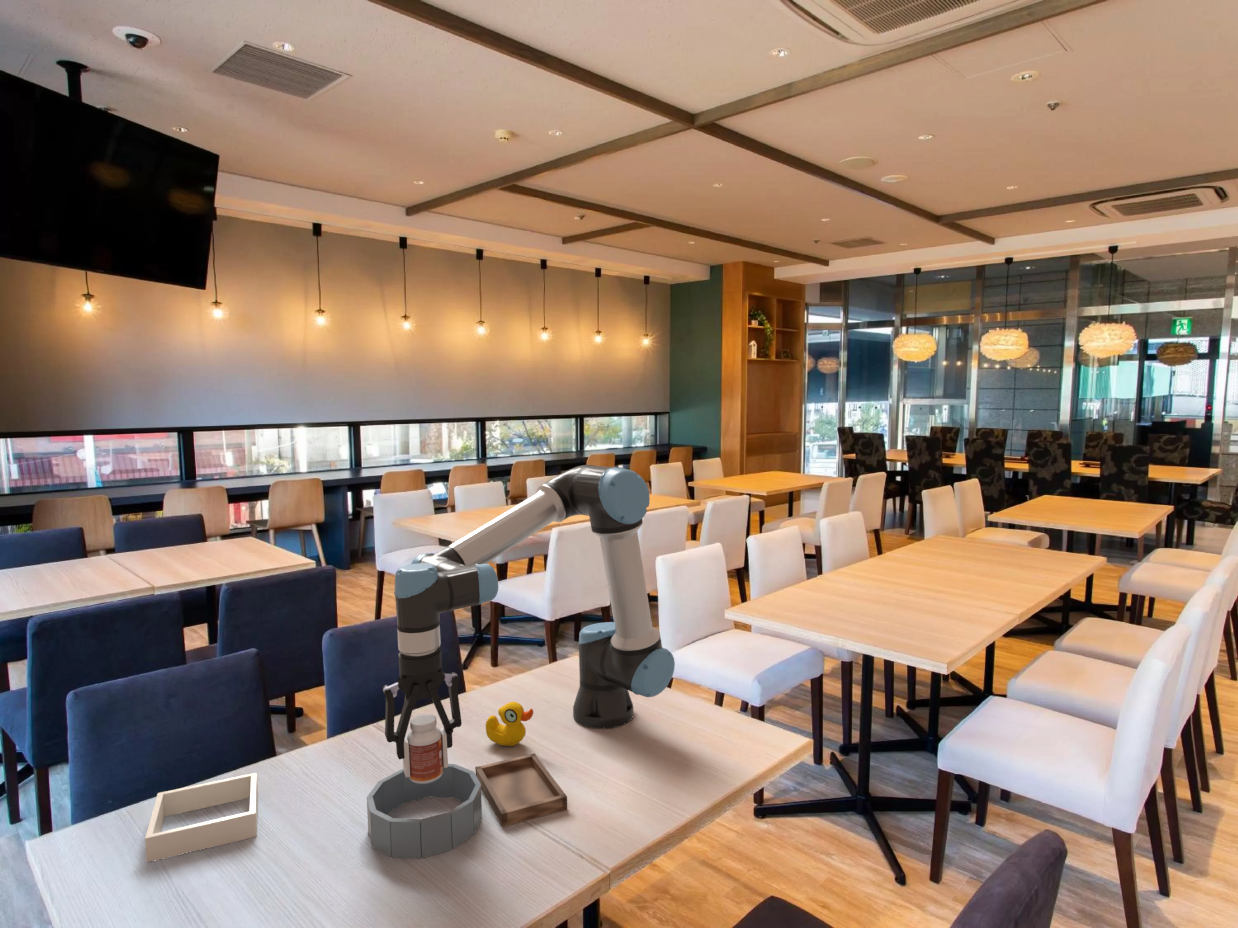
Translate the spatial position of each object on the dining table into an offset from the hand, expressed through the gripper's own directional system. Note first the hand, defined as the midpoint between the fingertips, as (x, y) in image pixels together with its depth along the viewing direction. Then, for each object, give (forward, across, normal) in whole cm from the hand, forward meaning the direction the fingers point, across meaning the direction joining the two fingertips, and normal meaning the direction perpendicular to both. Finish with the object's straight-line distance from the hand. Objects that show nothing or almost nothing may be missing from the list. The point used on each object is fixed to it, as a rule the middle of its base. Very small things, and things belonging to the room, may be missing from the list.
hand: (425, 768), depth 134 cm
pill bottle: (+2, 0, 0) cm, 2 cm away
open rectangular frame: (+10, +38, -18) cm, 43 cm away
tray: (+11, -18, -2) cm, 22 cm away
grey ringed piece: (+11, +1, 0) cm, 11 cm away
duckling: (+11, -23, -23) cm, 34 cm away
